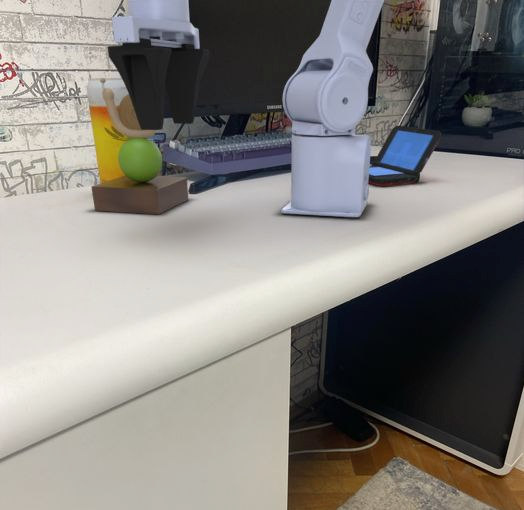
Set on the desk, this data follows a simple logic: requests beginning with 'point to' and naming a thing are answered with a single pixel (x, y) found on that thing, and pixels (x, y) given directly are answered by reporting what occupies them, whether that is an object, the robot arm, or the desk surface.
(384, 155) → the handheld console
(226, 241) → the desk surface
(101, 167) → the glass of beer
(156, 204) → the walnut block
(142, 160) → the snail figurine
